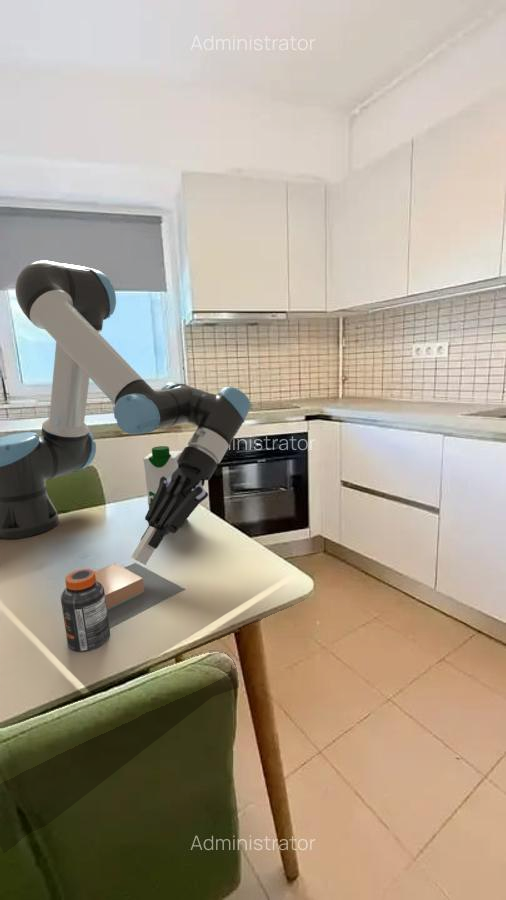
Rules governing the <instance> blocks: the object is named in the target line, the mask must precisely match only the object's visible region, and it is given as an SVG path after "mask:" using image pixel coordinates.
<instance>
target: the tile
mask: <svg viewBox="0 0 506 900" xmlns="http://www.w3.org/2000/svg"><path fill="white" fill-rule="evenodd" d="M94 572H95V577H96V581H97V582H99V583H101V584H102V585H103V587H104V593H105V600H106V607H107V611H109V610H111V609H113V608H115V607H117V606H119V605H121V604H123V603H125V602H127V601H129V600H131V599H133V598H135V597H138V596H140V595H142V594H143V592H144V586H143V578H141V577H140V576H138V575H136V574H134V573H132V572H131V571H129V570H127V569H125V568H124V566H122V565H120V564H119V563H116V562H115V563H113V564H110V565H107V566H105V567H103V568H100V569H98V570H95V571H94Z"/></svg>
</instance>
